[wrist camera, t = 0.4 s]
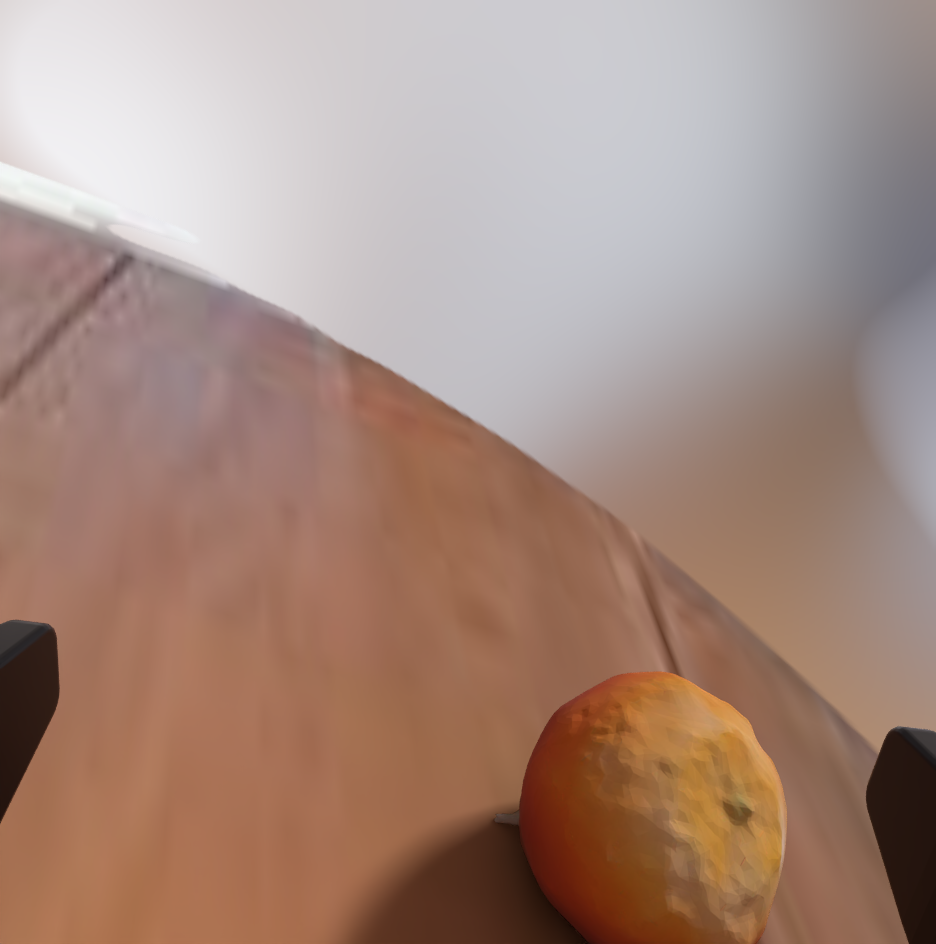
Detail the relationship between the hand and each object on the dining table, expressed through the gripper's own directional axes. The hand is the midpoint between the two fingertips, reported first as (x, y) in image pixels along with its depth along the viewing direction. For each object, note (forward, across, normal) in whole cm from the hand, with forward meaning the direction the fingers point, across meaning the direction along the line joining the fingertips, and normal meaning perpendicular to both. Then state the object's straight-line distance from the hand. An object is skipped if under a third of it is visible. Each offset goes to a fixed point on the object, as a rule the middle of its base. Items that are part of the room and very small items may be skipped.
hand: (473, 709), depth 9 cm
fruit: (+13, -6, +15) cm, 21 cm away
